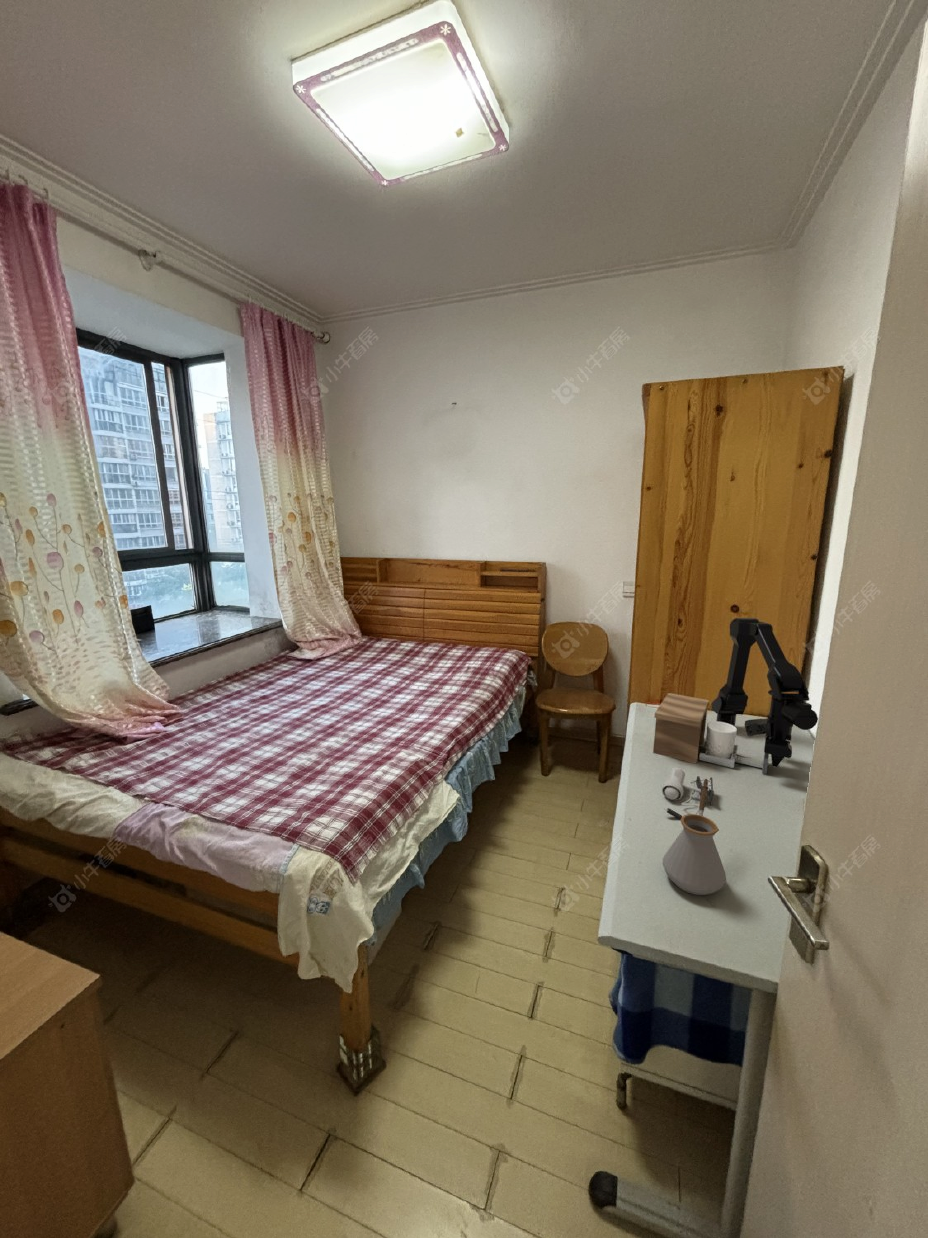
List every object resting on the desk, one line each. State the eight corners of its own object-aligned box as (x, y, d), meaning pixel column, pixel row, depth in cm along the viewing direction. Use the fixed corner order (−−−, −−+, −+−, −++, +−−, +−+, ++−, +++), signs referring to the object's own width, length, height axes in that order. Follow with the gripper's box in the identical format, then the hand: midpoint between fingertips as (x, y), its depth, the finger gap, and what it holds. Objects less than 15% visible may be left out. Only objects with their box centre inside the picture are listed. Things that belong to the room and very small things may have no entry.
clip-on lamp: (704, 839, 117) (714, 789, 131) (709, 819, 114) (719, 770, 128) (652, 819, 123) (667, 773, 137) (655, 800, 120) (670, 755, 134)
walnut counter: (664, 732, 167) (668, 692, 164) (704, 741, 161) (709, 700, 158) (650, 756, 151) (654, 712, 148) (694, 767, 144) (699, 722, 141)
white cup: (726, 752, 153) (730, 722, 151) (737, 765, 145) (741, 733, 143) (699, 751, 154) (703, 720, 152) (709, 763, 146) (712, 731, 144)
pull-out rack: (704, 745, 156) (705, 732, 156) (767, 760, 147) (769, 746, 147) (699, 759, 148) (700, 745, 147) (766, 775, 139) (768, 761, 138)
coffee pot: (722, 912, 92) (732, 839, 89) (656, 888, 97) (663, 820, 94) (728, 846, 110) (736, 784, 107) (672, 830, 115) (678, 770, 112)
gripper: (750, 699, 151) (744, 746, 154) (746, 720, 135) (740, 773, 138) (794, 706, 145) (787, 755, 148) (795, 729, 129) (787, 784, 133)
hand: (774, 766), depth 142 cm, fingers closed, pressing on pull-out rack
